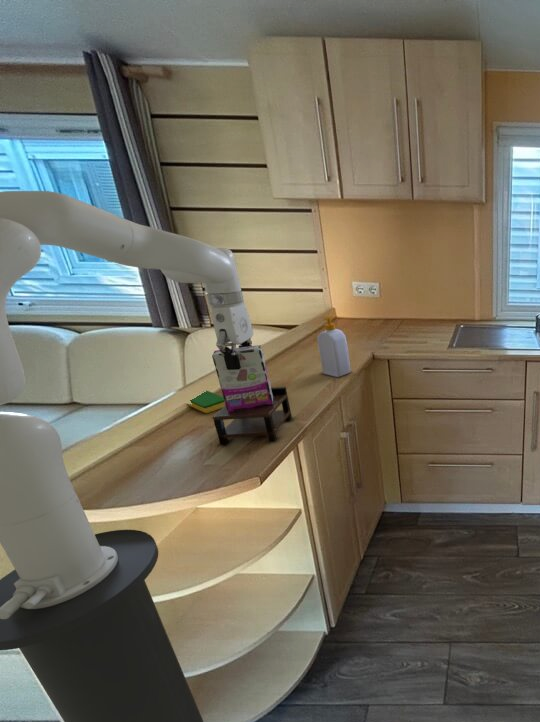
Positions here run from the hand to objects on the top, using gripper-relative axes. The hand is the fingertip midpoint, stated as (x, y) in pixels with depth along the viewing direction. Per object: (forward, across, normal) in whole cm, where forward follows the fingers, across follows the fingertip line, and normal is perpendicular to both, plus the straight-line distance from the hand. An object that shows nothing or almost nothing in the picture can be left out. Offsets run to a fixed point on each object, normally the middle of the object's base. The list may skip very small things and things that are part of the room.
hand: (241, 363), depth 109 cm
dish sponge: (+21, +22, +24) cm, 38 cm away
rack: (+21, 0, 0) cm, 21 cm away
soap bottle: (+21, +47, -12) cm, 53 cm away
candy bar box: (+12, 0, 0) cm, 12 cm away
